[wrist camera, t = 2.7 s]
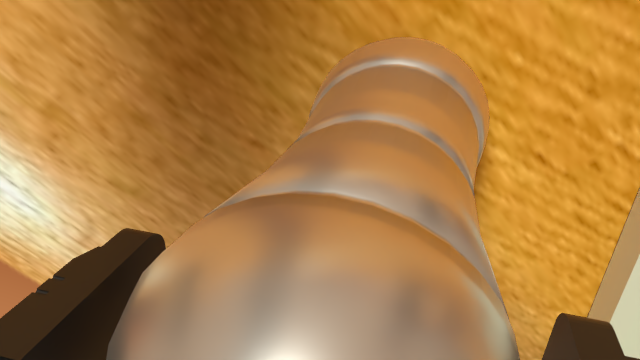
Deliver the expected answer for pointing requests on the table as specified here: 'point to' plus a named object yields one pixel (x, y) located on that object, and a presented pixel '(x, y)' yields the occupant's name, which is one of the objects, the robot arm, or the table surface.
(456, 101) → the silver metal bottle
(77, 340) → the robot arm
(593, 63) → the table surface
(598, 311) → the tray
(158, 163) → the table surface
